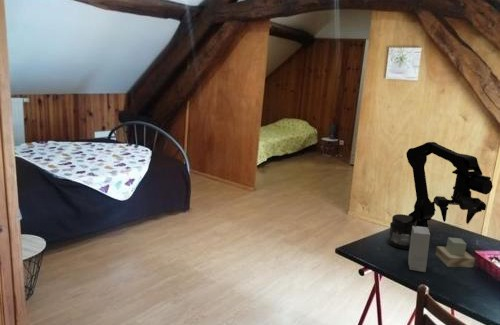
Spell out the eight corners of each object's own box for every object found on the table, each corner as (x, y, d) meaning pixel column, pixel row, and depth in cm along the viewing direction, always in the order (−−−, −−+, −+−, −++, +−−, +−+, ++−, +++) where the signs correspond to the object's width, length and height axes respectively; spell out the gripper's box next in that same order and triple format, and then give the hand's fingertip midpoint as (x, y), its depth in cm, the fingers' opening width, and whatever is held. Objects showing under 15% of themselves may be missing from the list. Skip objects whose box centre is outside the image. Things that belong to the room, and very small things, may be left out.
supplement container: (399, 237, 176) (403, 212, 173) (419, 247, 167) (423, 220, 164) (382, 241, 171) (385, 215, 169) (401, 252, 162) (405, 224, 160)
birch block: (447, 267, 152) (449, 257, 151) (435, 255, 162) (436, 246, 161) (473, 268, 152) (475, 258, 151) (459, 256, 162) (461, 247, 161)
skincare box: (425, 272, 146) (431, 235, 143) (408, 269, 148) (413, 232, 144) (423, 262, 154) (429, 226, 150) (406, 259, 156) (412, 224, 152)
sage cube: (450, 254, 154) (453, 242, 153) (445, 249, 159) (448, 237, 157) (464, 255, 153) (466, 243, 152) (458, 250, 158) (461, 238, 157)
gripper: (446, 191, 154) (439, 228, 158) (496, 194, 153) (488, 232, 156) (436, 182, 165) (429, 217, 169) (482, 186, 163) (475, 221, 167)
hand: (455, 222), depth 165 cm, fingers open, 9 cm apart
